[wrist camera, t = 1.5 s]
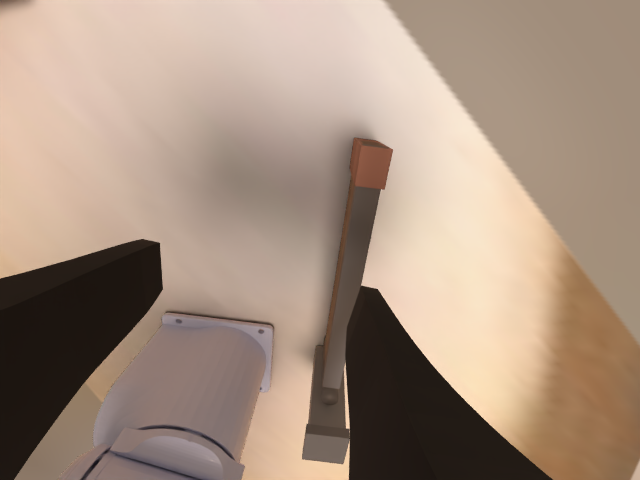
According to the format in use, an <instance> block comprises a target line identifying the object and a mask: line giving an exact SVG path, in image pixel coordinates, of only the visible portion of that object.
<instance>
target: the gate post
mask: <svg viewBox="0 0 640 480" xmlns="http://www.w3.org/2000/svg"><path fill="white" fill-rule="evenodd" d="M323 348H324V346H316V350H315V357H314V364H313V374H312V386H311V397H310V409H309V420H308V424H307V425H306V432H305V439H304V446H303V454H302V459H305V460H313V461H321V462H329V463H337V464H343V463H344V459H345V455H346V452H347V448H348V444H349V440H350V433H349V429H346V422H345V393H344V370H343V375H342V380H341V384H340V389H338V402H337V403H336V404H334V405H326V404H324V403H323V402H322V401H321V389H322V369H323Z"/></svg>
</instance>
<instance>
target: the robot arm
mask: <svg viewBox="0 0 640 480" xmlns="http://www.w3.org/2000/svg"><path fill="white" fill-rule="evenodd" d="M162 290H163V285H162V270H161V255H160V243H158V242H154V241H149V240H144V239H140V240H136V241H132V242H128V243H124V244H121V245H117V246H114V247H111V248H107V249H104V250H101V251H98V252H94V253H91V254H88V255H84V256H81V257H78V258H75V259H71V260H68V261H64V262H61V263H57V264H54V265H50V266H46V267H43V268H39V269H35V270H32V271H28V272H25V273H21V274H17V275H13V276H9V277H5V278H1V279H0V480H14V479H15V477H16V476H17V474H18V473H19V471H20V470H21V468H22V467H23V466H24V464H25V463H26V461H27V460H28V458H29V456H30V455H31V454H32V452H33V451H34V450H35V448H36V447H37V445H38V444H39V443H40V441H41V440H42V438H43V437H44V436H45V434H46V433H47V432H48V430H49V429H50V427H51V426H52V425H53V423H54V422H55V420H56V419H57V418H58V416H59V415H60V414H61V412H62V411H63V410H64V408H65V407H66V406H67V404H68V403H69V402H70V401H71V399H72V398H73V396H74V395H75V394H76V393H77V391H78V390H79V389H80V387H81V386H82V385H83V384H84V382H85V381H86V380H87V379H88V378H89V376H90V375H91V374H92V373H93V372H94V371H95V369H96V368H97V367H98V366H99V365H100V364H101V363H102V362H103V361H104V360H105V359H106V357H107V356H108V355H109V354H110V353H111V352H112V351H113V350H114V349H115V348H116V347H117V345H118V344H119V343H120V342H121V341H122V340H123V339H124V338H125V337H126V336H127V335H128V333H129V332H130V331H131V330H132V329H133V328H134V327H135V326H136V325H137V323H138V322H139V321H140V320H141V319H142V318H143V317H144V316H145V314H146V313H147V312H148V310H149V309H150V308H151V306H152V305H153V303H154V302H155V301H156V299H157V297H158V296H159V294H160V293H161V291H162ZM179 319H180V320H179ZM260 329H263V330H264V331H262V330H260ZM273 332H274V329H273V327H272V326H270V325H266V324H258V323H250V322H241V321H233V320H225V319H217V318H209V317H201V316H193V315H185V314H176V313H165V314H164V315H163V316H162V326H161V327H160V328H159V329H158V331H157V332H156V333H155V334H154V335H153V337H152V338H151V339H150V340H149V341H148V343H147V344H146V345H145V346H144V347H143V349H142V350H141V351H140V352H139V353H138V355H137V356H136V357H135V358H134V359H133V361H132V362H131V363H130V364H129V365H128V367H127V368H126V369H125V370H124V371H123V373H122V374H121V375H120V376H119V377H118V379H117V380H116V381H115V383H114V384H113V386H112V387H111V389H110V390H109V392H108V394H107V395H106V397H105V399H104V401H103V403H102V405H101V408H100V410H99V413H98V415H97V418H96V421H95V425H94V432H93V445H94V448H93V449H92V450H90V451H88V452H86V453H84V454H82V455H80V456H79V457H78V458H77V459H76V460H74V461H73V462H72V463H71V464H70V465H69V466H68V467H67V468H66V469H65V471H64V472H63V473H62V474H61V475H60V476H59V477H58V479H57V480H241V479H242V476H243V472H244V468H245V466H244V465H243V464H241V463H240V459H241V456H242V452H243V448H244V445H245V441H246V437H247V434H248V430H249V427H250V423H251V419H252V416H253V412H254V408H255V405H256V401H257V398H258V394H259V392H268V391H269V390H270V385H271V368H272V350H273ZM345 359H346V375H347V390H348V404H349V419H350V460H349V480H553V479H551V478H550V477H549V476H548V475H546V474H545V473H544V472H543V471H542V470H540V469H539V468H538V467H537V466H536V465H535V464H533V463H532V462H531V461H530V460H529V459H528V458H526V457H525V456H524V455H523V454H522V453H521V452H519V451H518V450H517V449H516V448H515V447H514V446H513V445H511V444H510V443H509V442H508V441H507V440H506V439H505V438H504V437H502V436H501V435H500V434H499V433H498V432H497V431H496V430H495V429H494V428H493V427H492V426H490V425H489V424H488V423H487V422H486V421H485V420H484V419H483V418H482V417H481V416H480V415H479V414H478V413H477V412H476V411H475V410H474V409H473V408H472V407H471V406H470V405H469V404H468V403H467V402H466V401H465V400H464V399H463V398H462V397H461V396H460V395H459V394H458V393H457V392H456V391H455V390H454V389H453V388H452V387H451V385H450V384H449V383H448V382H447V381H446V380H445V379H444V378H443V377H442V376H441V374H440V373H439V372H438V371H437V370H436V369H435V368H434V366H433V365H432V364H431V363H430V362H429V361H428V359H427V358H426V357H425V356H424V354H423V353H422V352H421V350H420V349H419V348H418V347H417V345H416V344H415V343H414V341H413V340H412V339H411V337H410V336H409V335H408V333H407V332H406V331H405V329H404V328H403V326H402V325H401V324H400V322H399V321H398V319H397V318H396V316H395V315H394V313H393V312H392V310H391V309H390V307H389V306H388V304H387V303H386V301H385V300H384V298H383V296H382V295H381V293H380V292H379V291H378V289H374V288H369V287H365V286H361V287H360V290H359V293H358V296H357V299H356V302H355V305H354V308H353V311H352V314H351V316H350V319H349V322H348V325H347V331H346V349H345Z"/></svg>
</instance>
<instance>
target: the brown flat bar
mask: <svg viewBox="0 0 640 480" xmlns="http://www.w3.org/2000/svg"><path fill="white" fill-rule="evenodd" d="M392 152H393V149H391V148H389V147H387V146H385V145H384V144H382V143H380V142H378V141H376V140H368V139H360V138H354V142H353V148H352V155H351V161H350V171H351V174H352V175H351V181H350V188H349V194H348V200H347V207H346V213H345V219H344V225H343V232H342V238H341V244H340V251H339V257H338V263H337V270H336V276H335V282H334V288H333V295H332V301H331V307H330V314H329V320H328V326H327V333H326V338H325V340H324V348H323V369H322V389H321V401H322V402H323V403H324V404H326V405H334V404H336V403H337V402H338V389H340V384H341V380H342V375H343V370H344V365H345V360H346V359H345V349H346V331H347V325H348V322H349V319H350V316H351V314H352V311H353V308H354V305H355V302H356V299H357V296H358V293H359V290H360V287H361V283H362V278H363V273H364V268H365V263H366V258H367V253H368V249H369V244H370V239H371V234H372V229H373V224H374V219H375V215H376V210H377V205H378V200H379V195H380V190H381V189H384V190H385V185H386V180H387V176H388V171H389V166H390V162H391V157H392Z"/></svg>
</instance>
